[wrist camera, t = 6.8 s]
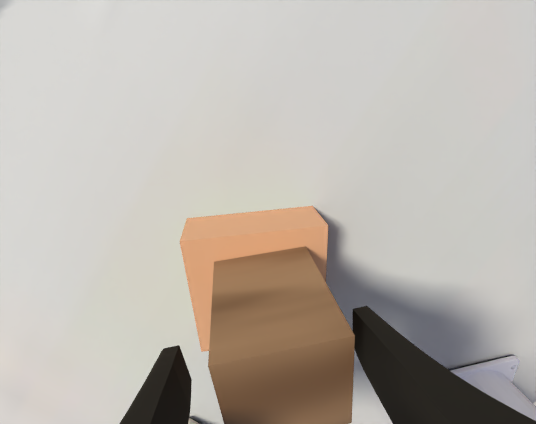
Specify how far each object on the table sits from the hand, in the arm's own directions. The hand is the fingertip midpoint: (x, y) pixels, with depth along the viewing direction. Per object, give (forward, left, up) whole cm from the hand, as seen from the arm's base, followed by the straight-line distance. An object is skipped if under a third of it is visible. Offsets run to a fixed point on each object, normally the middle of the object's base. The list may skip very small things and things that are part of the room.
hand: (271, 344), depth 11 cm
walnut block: (0, 0, -3) cm, 3 cm away
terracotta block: (0, 0, -6) cm, 6 cm away
